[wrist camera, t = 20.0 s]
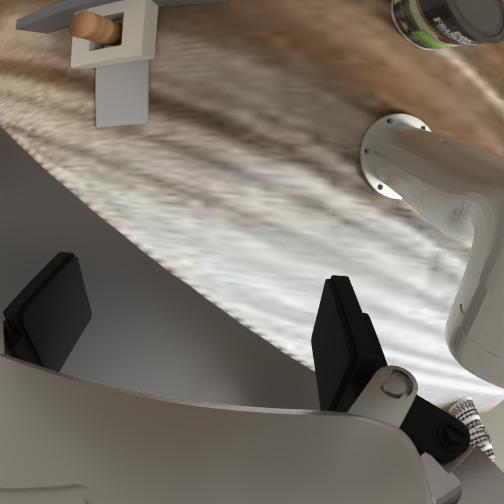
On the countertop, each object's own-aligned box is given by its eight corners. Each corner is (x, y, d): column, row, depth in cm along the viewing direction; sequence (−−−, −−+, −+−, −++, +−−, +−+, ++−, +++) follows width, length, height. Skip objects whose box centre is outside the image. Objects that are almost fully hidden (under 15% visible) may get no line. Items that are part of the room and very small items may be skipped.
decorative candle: (443, 416, 74) (465, 478, 52) (456, 399, 70) (482, 464, 48) (463, 410, 74) (487, 468, 52) (476, 393, 70) (504, 454, 48)
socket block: (158, 6, 29) (146, -4, 25) (154, 59, 33) (141, 55, 29) (92, 18, 29) (74, 12, 25) (89, 68, 33) (70, 67, 28)
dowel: (130, 23, 29) (95, 7, 21) (129, 44, 31) (92, 33, 22) (109, 27, 29) (70, 14, 21) (107, 48, 31) (68, 40, 22)
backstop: (228, -7, 29) (221, -28, 22) (221, 121, 38) (213, 127, 31) (48, 25, 29) (16, 20, 22) (46, 134, 38) (15, 145, 31)
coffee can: (445, 61, 32) (506, 60, 19) (385, 33, 31) (437, 14, 18) (452, 8, 27) (510, -7, 14) (394, -23, 26) (442, -54, 14)
